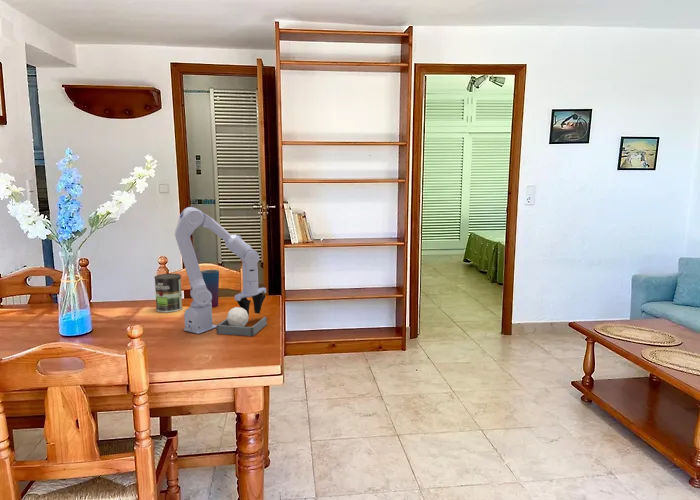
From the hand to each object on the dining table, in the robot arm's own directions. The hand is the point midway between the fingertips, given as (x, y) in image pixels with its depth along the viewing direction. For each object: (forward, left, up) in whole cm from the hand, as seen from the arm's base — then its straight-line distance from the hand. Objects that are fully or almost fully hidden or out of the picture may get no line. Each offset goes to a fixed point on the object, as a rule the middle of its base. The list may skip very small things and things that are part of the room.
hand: (251, 315), depth 191 cm
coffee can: (-4, +41, -3) cm, 41 cm away
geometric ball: (-8, 0, -3) cm, 8 cm away
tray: (-8, -3, -3) cm, 9 cm away
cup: (+9, +30, -3) cm, 32 cm away
